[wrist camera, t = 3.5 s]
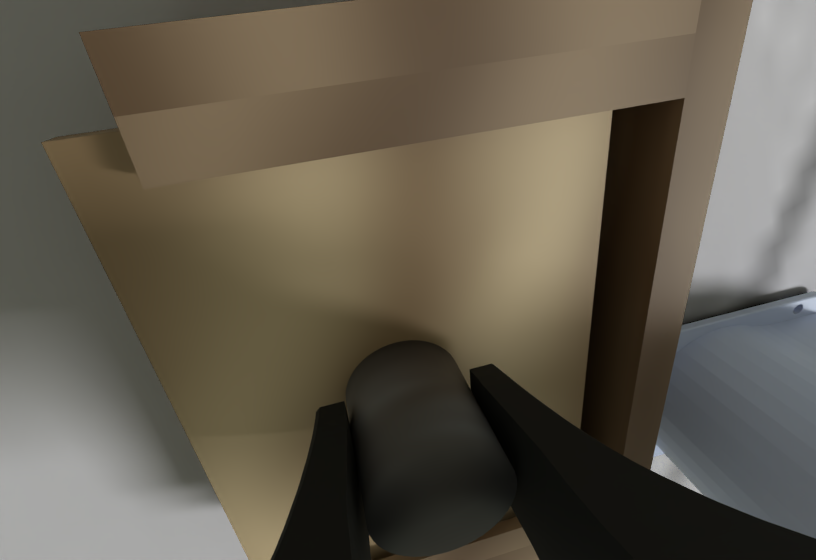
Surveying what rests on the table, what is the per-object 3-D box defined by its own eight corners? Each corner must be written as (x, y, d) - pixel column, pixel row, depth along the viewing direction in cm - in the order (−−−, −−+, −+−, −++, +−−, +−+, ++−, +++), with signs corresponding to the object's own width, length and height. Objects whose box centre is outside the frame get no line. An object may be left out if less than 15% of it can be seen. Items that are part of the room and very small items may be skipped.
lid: (600, 57, 10) (780, 59, 6) (563, 490, 17) (638, 608, 13) (56, 136, 8) (-129, 203, 5) (269, 581, 15) (263, 745, 12)
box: (601, -13, 13) (763, -47, 8) (566, 431, 21) (637, 528, 17) (162, 41, 11) (78, 32, 7) (317, 503, 19) (325, 631, 15)
